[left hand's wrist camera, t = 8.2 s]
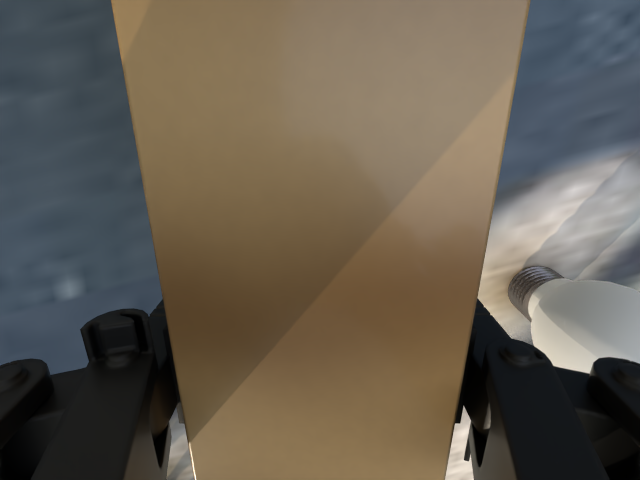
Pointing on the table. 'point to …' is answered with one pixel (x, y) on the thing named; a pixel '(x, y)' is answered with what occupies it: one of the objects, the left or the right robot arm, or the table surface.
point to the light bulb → (578, 317)
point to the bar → (320, 219)
